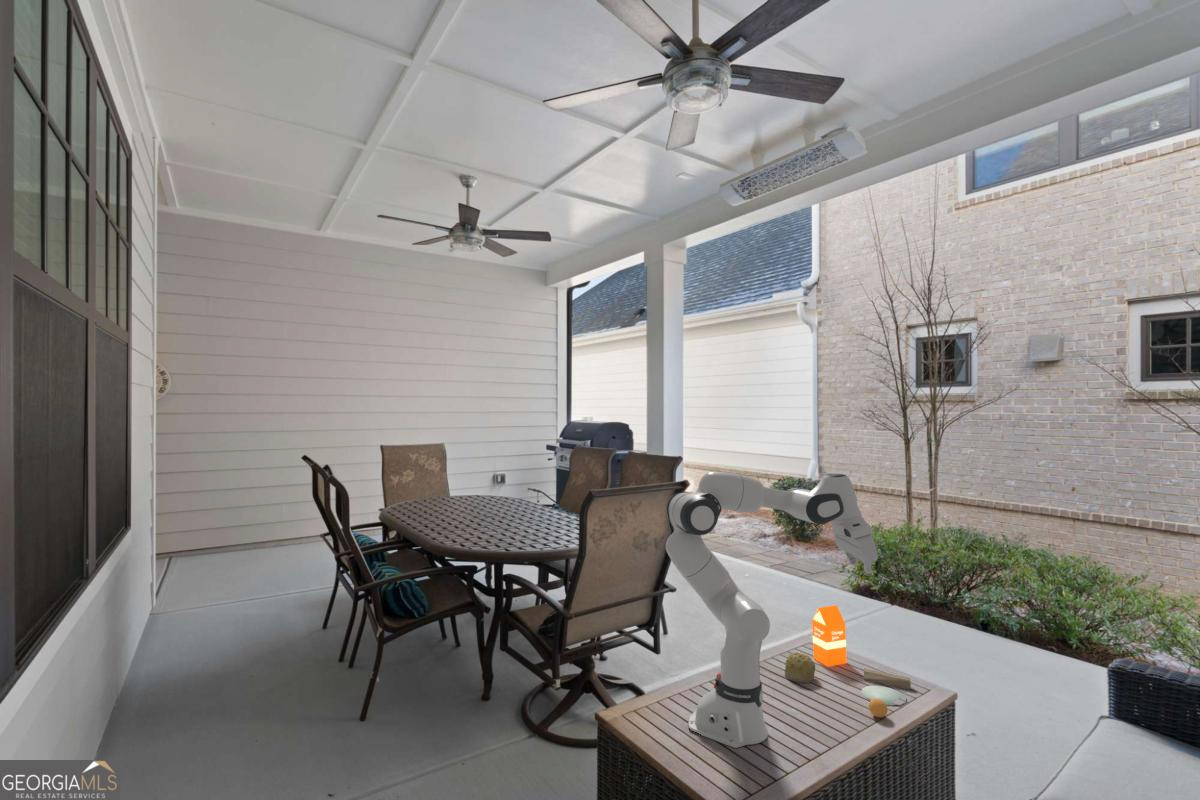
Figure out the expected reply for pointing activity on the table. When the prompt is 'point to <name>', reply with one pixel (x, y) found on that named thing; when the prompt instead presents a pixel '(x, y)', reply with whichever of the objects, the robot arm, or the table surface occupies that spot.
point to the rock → (799, 668)
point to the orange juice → (829, 636)
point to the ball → (878, 708)
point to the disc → (882, 694)
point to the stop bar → (887, 679)
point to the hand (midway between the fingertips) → (860, 568)
